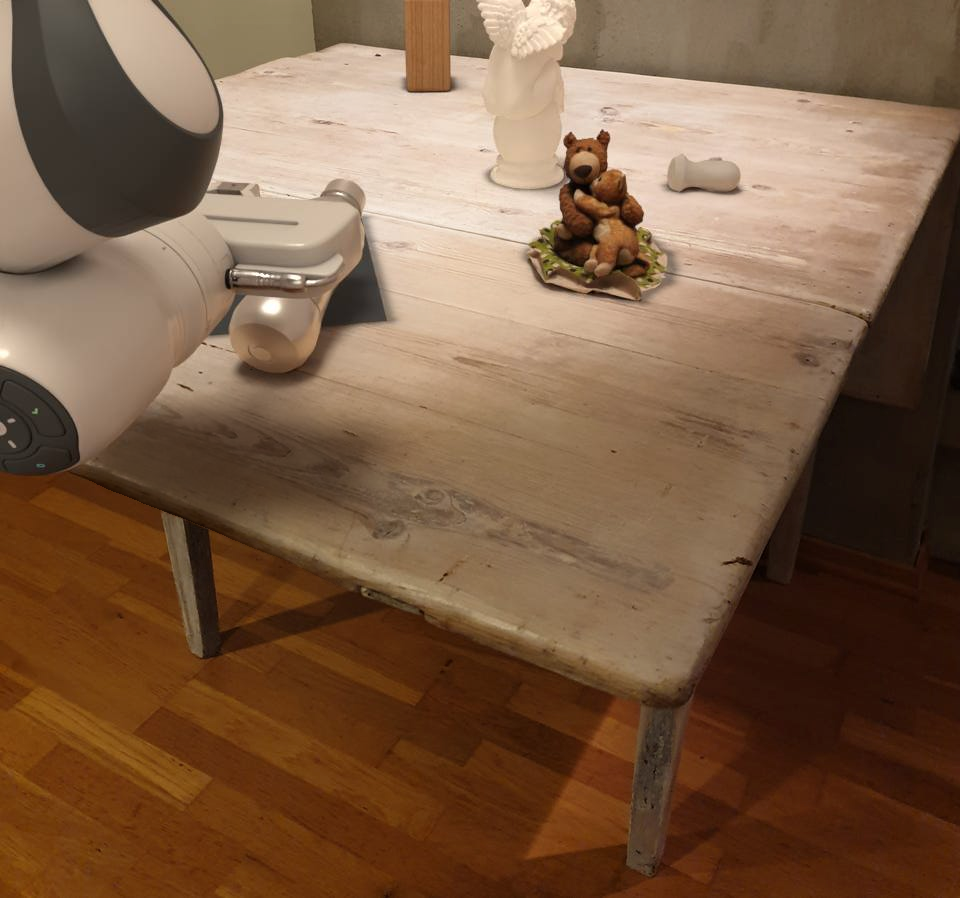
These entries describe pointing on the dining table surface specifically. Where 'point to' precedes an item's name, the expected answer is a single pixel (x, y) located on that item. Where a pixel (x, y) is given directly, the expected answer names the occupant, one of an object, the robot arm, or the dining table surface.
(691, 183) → the pale two-lobed sculpture
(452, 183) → the dining table surface
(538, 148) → the cherub figurine
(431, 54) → the decorative item
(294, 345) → the plastic bottle
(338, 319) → the mat
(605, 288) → the bear figurine
